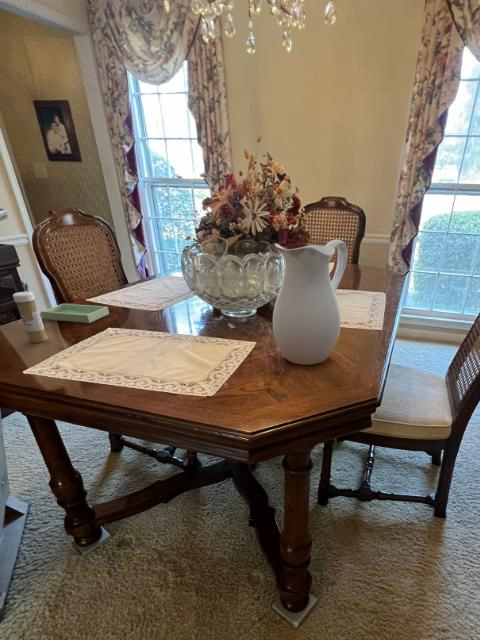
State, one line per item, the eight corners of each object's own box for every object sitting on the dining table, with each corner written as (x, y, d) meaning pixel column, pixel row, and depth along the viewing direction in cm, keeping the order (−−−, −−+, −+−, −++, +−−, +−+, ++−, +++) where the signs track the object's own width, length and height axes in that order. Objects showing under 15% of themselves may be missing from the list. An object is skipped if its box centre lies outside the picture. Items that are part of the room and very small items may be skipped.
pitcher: (308, 376, 89) (311, 250, 75) (260, 357, 98) (254, 242, 85) (366, 348, 104) (376, 239, 90) (319, 334, 114) (322, 233, 100)
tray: (42, 319, 125) (40, 311, 124) (65, 310, 134) (63, 303, 132) (89, 322, 122) (87, 315, 121) (109, 313, 130) (107, 306, 129)
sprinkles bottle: (25, 342, 106) (7, 294, 100) (38, 337, 110) (21, 290, 103) (40, 344, 106) (23, 295, 99) (52, 338, 110) (36, 291, 103)
